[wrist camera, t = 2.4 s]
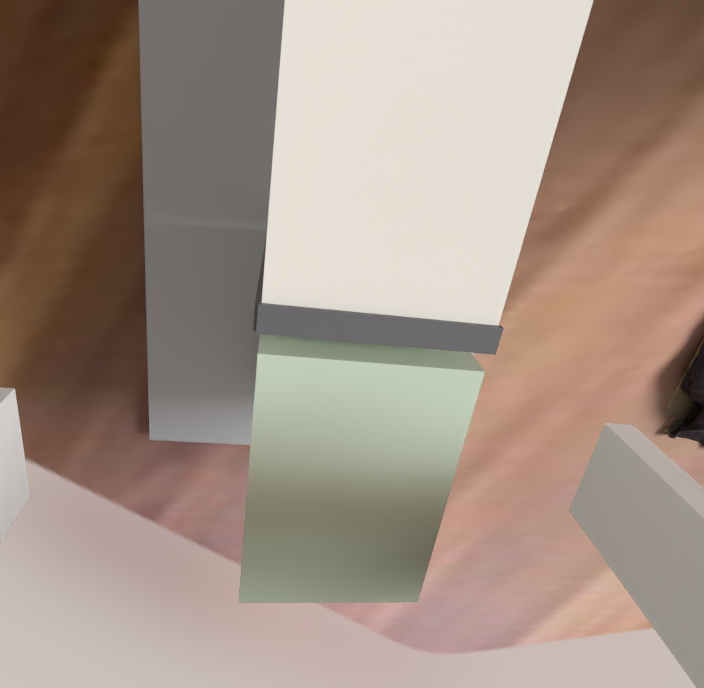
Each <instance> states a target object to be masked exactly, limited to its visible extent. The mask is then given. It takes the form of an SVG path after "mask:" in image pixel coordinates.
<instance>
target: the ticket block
mask: <svg viewBox="0 0 704 688" xmlns="http://www.w3.org/2000/svg"><path fill="white" fill-rule="evenodd" d="M138 4H139V43H140V83H141V122H142V161H143V201H144V240H145V280H146V319H147V359H148V398H149V437H150V440H161V441H181V442H201V443H221V444H242V445H251V433H252V420H253V407H254V394H255V381H256V368H257V355H258V346H259V338H260V334H262V335H274V336H286V337H297V338H309V339H321V340H332V341H344V342H355V343H367V344H379V345H390V346H402V347H414V348H425V349H437V350H448V351H460V352H471V354H472V355H473V356H474V355H475V353H483V354H495V355H496V351H497V348H498V345H499V341H500V338H501V335H502V331H503V327H502V326H498V325H499V322H500V318H501V315H502V312H503V308H504V305H505V301H506V298H507V295H508V291H509V288H510V284H511V281H512V277H513V274H514V271H515V267H516V264H517V260H518V257H519V254H520V250H521V247H522V243H523V240H524V236H525V233H526V230H527V226H528V223H529V219H530V216H531V212H532V209H533V206H534V202H535V199H536V195H537V192H538V189H539V185H540V182H541V178H542V175H543V171H544V168H545V165H546V161H547V158H548V154H549V151H550V148H551V144H552V141H553V137H554V134H555V130H556V127H557V124H558V120H559V117H560V113H561V110H562V106H563V103H564V100H565V96H566V93H567V89H568V86H569V83H570V79H571V76H572V72H573V69H574V65H575V62H576V59H577V55H578V52H579V48H580V45H581V42H582V38H583V35H584V31H585V28H586V24H587V21H588V18H589V14H590V11H591V7H592V4H593V0H138Z"/></svg>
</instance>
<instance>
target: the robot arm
mask: <svg viewBox="0 0 704 688" xmlns="http://www.w3.org/2000/svg"><path fill="white" fill-rule="evenodd" d="M29 498H30V491H29V483H28V476H27V469H26V462H25V455H24V448H23V442H22V435H21V428H20V421H19V414H18V407H17V400H16V393H15V388H2V387H0V543H1V541H2V539H3V538H4V536H5V535H6V533H7V532H8V530H9V529H10V527H11V526H12V524H13V523H14V521H15V520H16V518H17V516H18V515H19V514H20V512H21V510H22V509H23V507H24V506H25V504H26V503H27V501H28V500H29ZM569 511H570V512H571V514H572V515H573V516H574V518H575V519H576V521H577V522H578V523H579V525H580V526H581V527H582V529H583V530H584V532H585V533H586V534H587V536H588V537H589V539H590V540H591V541H592V543H593V544H594V546H595V547H596V548H597V550H598V551H599V553H600V554H601V555H602V557H603V558H604V559H605V561H606V562H607V564H608V565H609V566H610V568H611V569H612V571H613V572H614V573H615V575H616V576H617V578H618V579H619V580H620V582H621V583H622V584H623V586H624V587H625V589H626V590H627V591H628V593H629V594H630V596H631V597H632V598H633V600H634V601H635V603H636V604H637V605H638V607H639V608H640V610H641V611H642V612H643V614H644V615H645V616H646V618H647V619H648V621H649V622H650V623H651V625H652V626H653V628H654V629H655V630H656V632H657V633H658V634H659V636H660V637H661V639H662V640H663V641H664V643H665V644H666V646H667V647H668V648H669V650H670V651H671V653H672V654H673V655H674V657H675V658H676V660H677V661H678V662H679V664H680V665H681V666H682V668H683V669H684V671H685V672H686V673H687V675H688V676H689V678H690V679H691V680H692V682H693V683H694V685H695V686H696V687H697V688H704V488H703V487H702V486H701V485H700V484H698V483H697V482H696V481H695V480H694V479H693V478H692V477H691V476H690V475H688V474H687V473H686V472H685V471H684V470H683V469H682V468H681V467H679V466H678V465H677V464H676V463H675V462H674V461H673V460H672V459H671V458H669V457H668V456H667V455H666V454H665V453H664V452H663V451H662V450H660V449H659V448H658V447H657V446H656V445H655V444H654V443H653V442H651V441H650V440H649V439H648V438H647V437H646V436H645V435H644V434H643V433H641V432H640V431H639V430H638V429H637V428H636V427H635V426H634V425H627V424H610V423H605V425H604V427H603V430H602V432H601V434H600V437H599V439H598V442H597V444H596V447H595V449H594V451H593V454H592V456H591V459H590V461H589V464H588V466H587V468H586V471H585V473H584V476H583V478H582V480H581V483H580V485H579V488H578V490H577V493H576V495H575V497H574V500H573V502H572V505H571V507H570V510H569Z"/></svg>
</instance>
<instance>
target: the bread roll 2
mask: <svg viewBox="0 0 704 688" xmlns="http://www.w3.org/2000/svg"><path fill="white" fill-rule="evenodd" d="M693 413H696V415H695V416H693V417H691V418H689V416H690V415H691V414H693ZM672 414H676V415H677V417H678V419H677V421H676V422H675V423H674V424H673V425H672V427H669V428H665V429H664V430H663V432H666V433H668V437H670V438H675V437H677V436H678V437H681V438H688V439H691V440H695V441H698V442H700V443H702V444H703V445H704V338H703V340H702V342H701V344H700V346H699V347H698V349H697V351H696V353H695V355H694V357H693V358H692V360H691V362H690V364H689V365H688V367H687V369H686V371H685V373H684V375H683V376H682V378H681V380H680V382H679V384H678V386H677V389H676V390H675V392H674V394H673V396H672V399H671V401H670V402H669V406H668V408H667V410H666V412H665V418H668V419H670V418H671V417H672Z"/></svg>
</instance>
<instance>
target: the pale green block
mask: <svg viewBox="0 0 704 688" xmlns="http://www.w3.org/2000/svg"><path fill="white" fill-rule="evenodd" d="M484 373H485V371H484V370H483V368H482V367H481V366H480V364H479V363H478V362H477V360H476V359H475V358H474V356H473V355H472V354H471V352H460V351H448V350H437V349H425V348H414V347H402V346H390V345H379V344H367V343H355V342H344V341H332V340H321V339H309V338H297V337H286V336H274V335H262V334H260V338H259V346H258V355H257V368H256V381H255V394H254V407H253V420H252V433H251V446H250V459H249V472H248V485H247V498H246V511H245V524H244V537H243V550H242V563H241V576H240V577H241V578H240V589H239V603H261V602H262V603H274V602H275V603H293V602H294V603H295V602H296V603H297V602H298V603H299V602H302V603H310V602H311V603H320V602H418V599H419V595H420V592H421V589H422V585H423V582H424V578H425V575H426V572H427V568H428V565H429V561H430V558H431V554H432V551H433V548H434V544H435V541H436V537H437V534H438V531H439V527H440V524H441V520H442V517H443V513H444V510H445V507H446V503H447V500H448V496H449V493H450V489H451V486H452V483H453V479H454V476H455V472H456V469H457V466H458V462H459V459H460V455H461V452H462V448H463V445H464V442H465V438H466V435H467V431H468V428H469V425H470V421H471V418H472V414H473V411H474V407H475V404H476V401H477V397H478V394H479V390H480V387H481V383H482V380H483V377H484Z"/></svg>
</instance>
